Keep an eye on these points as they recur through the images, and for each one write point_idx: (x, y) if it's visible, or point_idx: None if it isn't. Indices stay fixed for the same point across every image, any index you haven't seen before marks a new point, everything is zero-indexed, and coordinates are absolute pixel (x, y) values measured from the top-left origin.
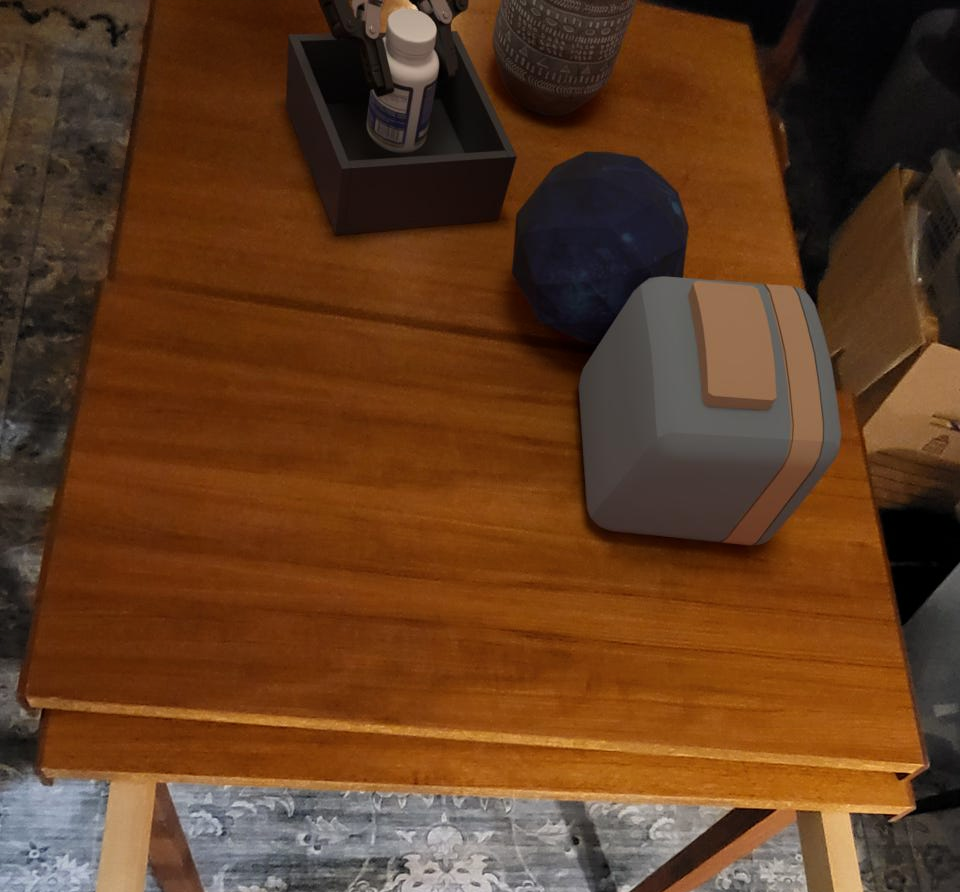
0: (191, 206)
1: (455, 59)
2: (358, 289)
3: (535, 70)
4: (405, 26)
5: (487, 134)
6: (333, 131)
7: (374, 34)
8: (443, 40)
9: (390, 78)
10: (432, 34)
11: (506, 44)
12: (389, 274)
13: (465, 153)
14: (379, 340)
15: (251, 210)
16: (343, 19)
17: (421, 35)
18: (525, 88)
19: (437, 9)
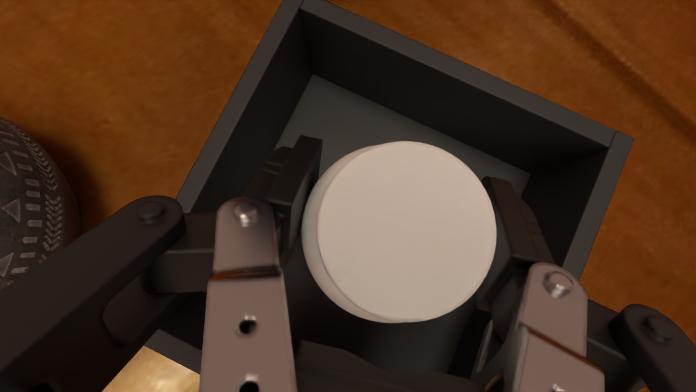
0: (691, 325)
1: (275, 156)
2: (573, 82)
3: (30, 177)
4: (437, 234)
5: (268, 95)
6: (587, 223)
7: (551, 270)
8: (295, 180)
9: (497, 188)
10: (376, 154)
11: (22, 260)
12: (518, 78)
13: (380, 42)
14: (602, 7)
15: (618, 272)
16: (692, 354)
17: (416, 171)
18: (67, 195)
19: (269, 235)
